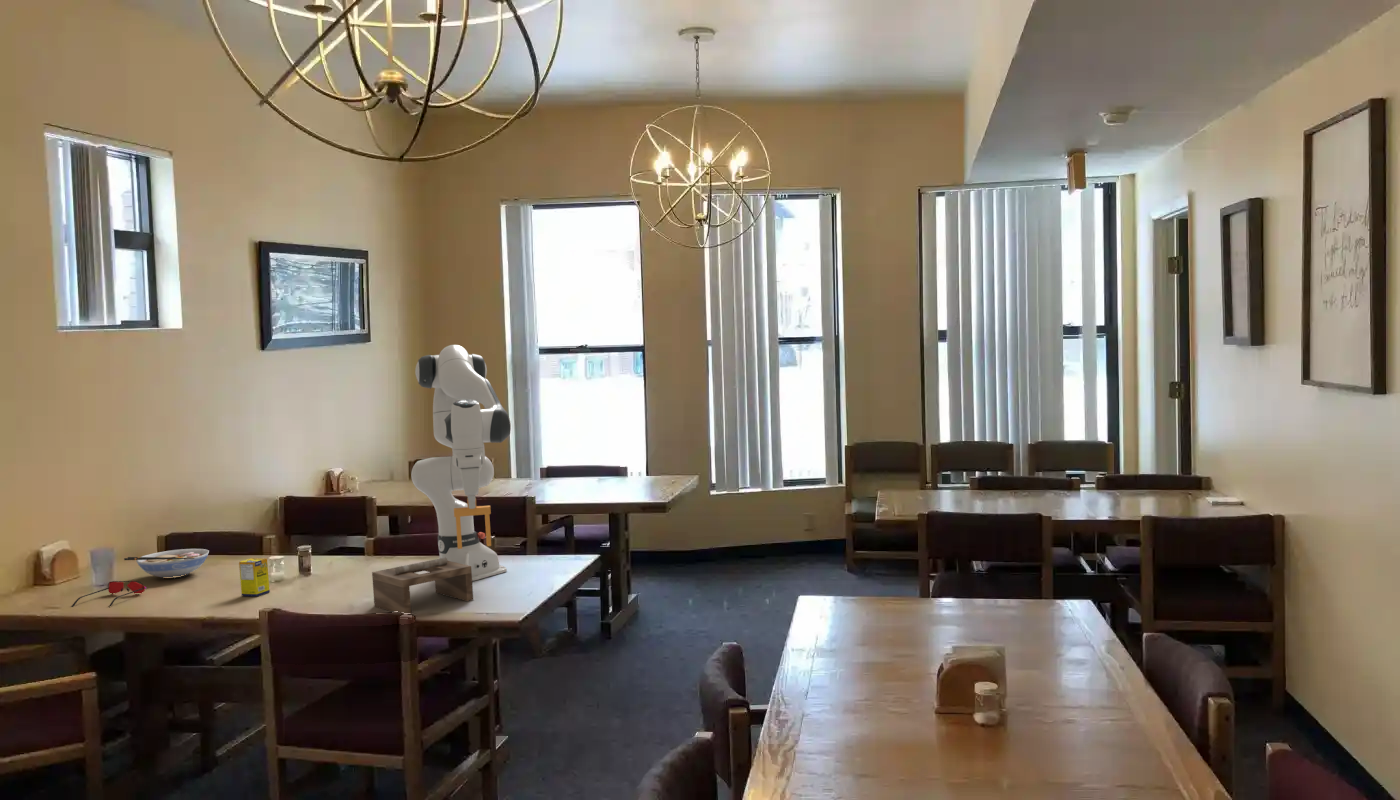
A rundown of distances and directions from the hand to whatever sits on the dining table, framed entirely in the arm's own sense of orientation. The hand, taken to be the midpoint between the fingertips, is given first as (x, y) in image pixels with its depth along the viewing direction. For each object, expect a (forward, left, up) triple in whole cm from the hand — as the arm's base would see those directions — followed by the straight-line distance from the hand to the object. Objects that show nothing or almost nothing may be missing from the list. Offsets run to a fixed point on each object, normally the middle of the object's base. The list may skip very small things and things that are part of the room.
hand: (472, 507), depth 308 cm
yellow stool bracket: (0, 0, -11) cm, 11 cm away
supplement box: (+33, -76, -29) cm, 88 cm away
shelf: (+6, -20, -29) cm, 36 cm away
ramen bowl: (+40, -129, -29) cm, 138 cm away
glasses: (+66, -109, -30) cm, 130 cm away
